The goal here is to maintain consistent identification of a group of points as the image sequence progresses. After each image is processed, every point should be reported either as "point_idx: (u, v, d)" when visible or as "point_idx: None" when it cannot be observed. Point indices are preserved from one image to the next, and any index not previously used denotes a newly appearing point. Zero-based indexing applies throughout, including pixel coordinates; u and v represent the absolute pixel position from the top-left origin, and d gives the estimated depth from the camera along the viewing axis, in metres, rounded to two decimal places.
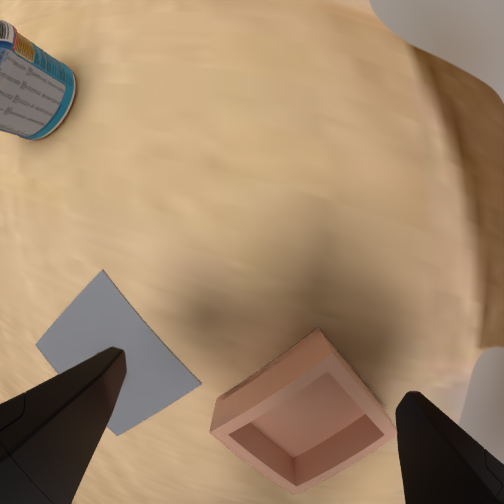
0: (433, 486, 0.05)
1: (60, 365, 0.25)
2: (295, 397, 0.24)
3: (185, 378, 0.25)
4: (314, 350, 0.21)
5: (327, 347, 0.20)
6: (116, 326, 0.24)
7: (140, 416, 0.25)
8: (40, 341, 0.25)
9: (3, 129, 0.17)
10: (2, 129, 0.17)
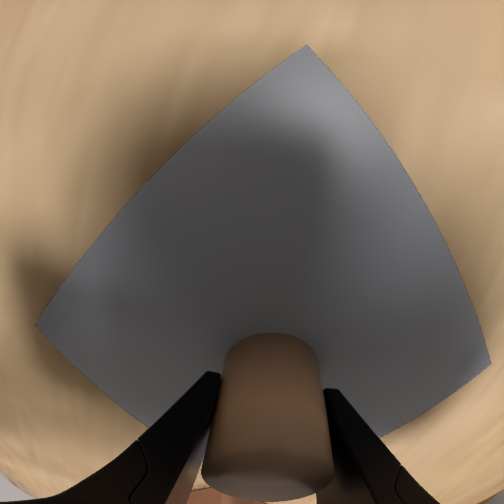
0: (338, 499, 0.05)
1: (229, 173, 0.07)
2: None
3: None
4: None
5: None
6: (383, 398, 0.09)
7: (128, 404, 0.10)
8: (330, 82, 0.06)
9: None
10: None
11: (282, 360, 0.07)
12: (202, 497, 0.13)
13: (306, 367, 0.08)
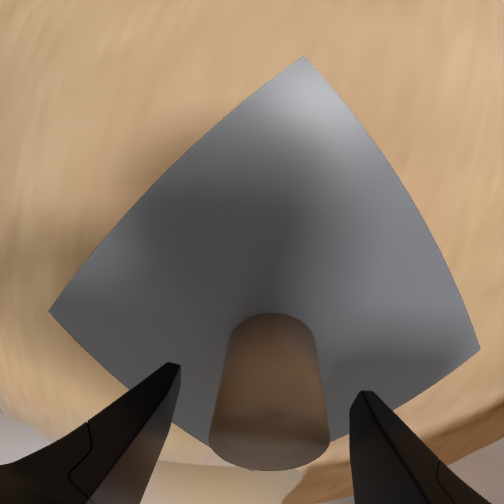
0: (380, 495, 0.05)
1: (235, 169, 0.08)
2: None
3: None
4: None
5: None
6: (376, 380, 0.10)
7: None
8: (324, 88, 0.07)
9: None
10: None
11: (282, 336, 0.08)
12: None
13: (303, 343, 0.09)
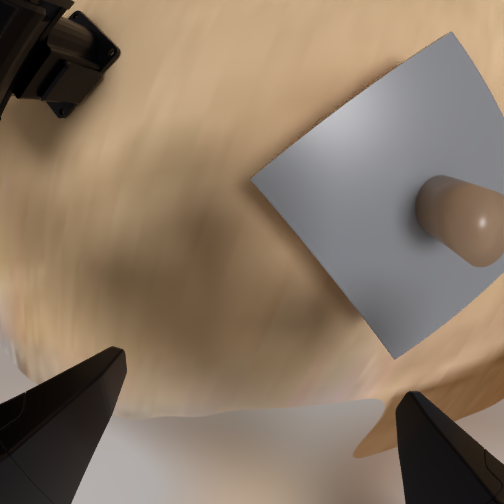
0: (433, 486, 0.05)
1: (426, 80, 0.10)
2: None
3: (407, 340, 0.15)
4: None
5: None
6: None
7: (329, 255, 0.14)
8: (462, 50, 0.10)
9: None
10: None
11: None
12: None
13: None
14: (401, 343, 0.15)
